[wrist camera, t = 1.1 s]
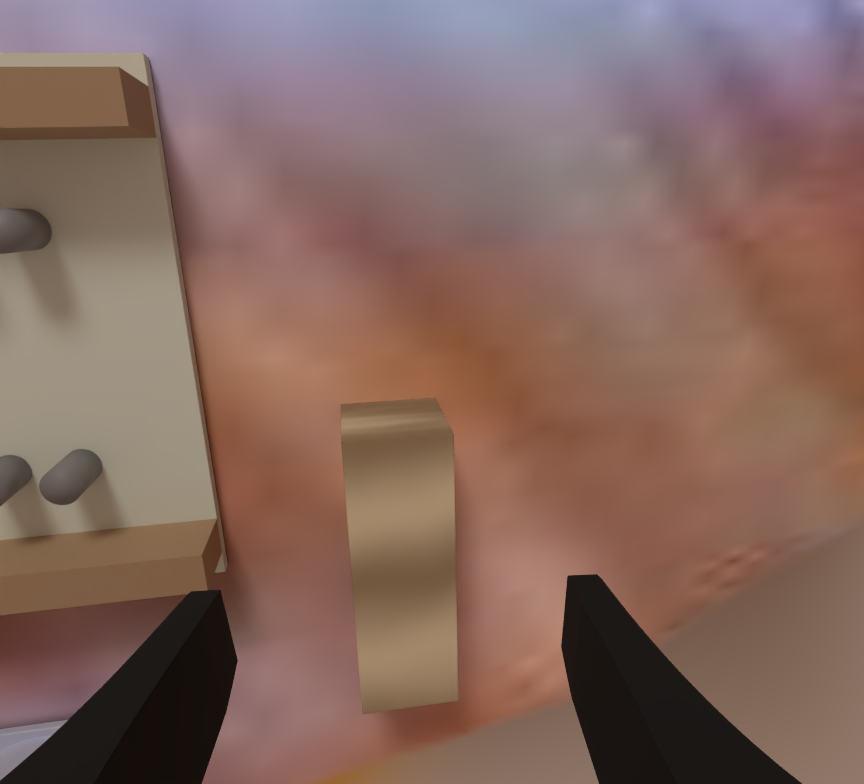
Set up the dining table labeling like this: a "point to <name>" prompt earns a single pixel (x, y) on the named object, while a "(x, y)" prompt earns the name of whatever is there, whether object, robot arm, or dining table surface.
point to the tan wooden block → (402, 551)
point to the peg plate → (95, 347)
